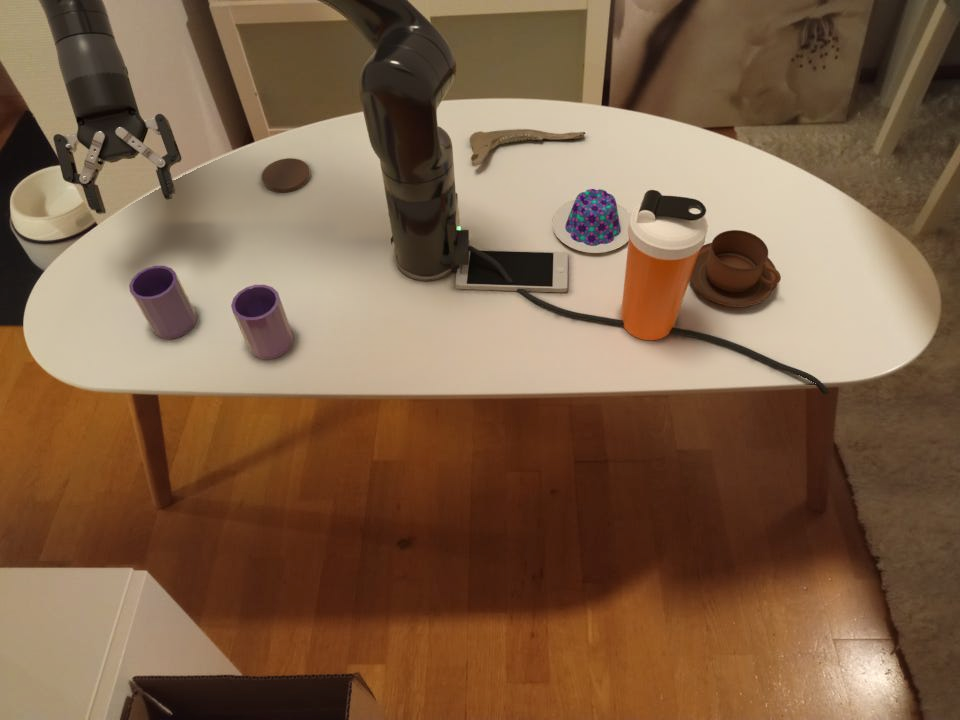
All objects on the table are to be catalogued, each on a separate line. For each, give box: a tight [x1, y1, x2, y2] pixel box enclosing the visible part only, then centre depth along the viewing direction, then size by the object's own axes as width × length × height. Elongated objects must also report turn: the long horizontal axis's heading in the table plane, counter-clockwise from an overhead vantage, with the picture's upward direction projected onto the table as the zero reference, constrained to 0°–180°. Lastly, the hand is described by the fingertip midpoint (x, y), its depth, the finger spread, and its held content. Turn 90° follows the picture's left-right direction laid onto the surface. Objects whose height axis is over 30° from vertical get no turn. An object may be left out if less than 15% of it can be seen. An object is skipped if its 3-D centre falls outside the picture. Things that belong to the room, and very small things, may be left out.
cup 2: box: [230, 284, 294, 360], centre depth 98 cm, size 6×6×8 cm
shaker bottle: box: [620, 188, 709, 341], centre depth 93 cm, size 9×9×20 cm
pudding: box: [551, 188, 631, 254], centre depth 110 cm, size 12×12×5 cm
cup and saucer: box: [689, 229, 782, 308], centre depth 103 cm, size 12×12×6 cm
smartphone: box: [455, 248, 569, 293], centre depth 107 cm, size 7×15×1 cm, turn 85°
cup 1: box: [128, 265, 198, 340], centre depth 101 cm, size 6×6×8 cm
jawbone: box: [469, 128, 587, 167], centre depth 125 cm, size 9×20×2 cm, turn 115°
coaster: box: [261, 157, 311, 193], centre depth 122 cm, size 8×8×1 cm
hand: (135, 205), depth 99 cm, fingers open, 8 cm apart
